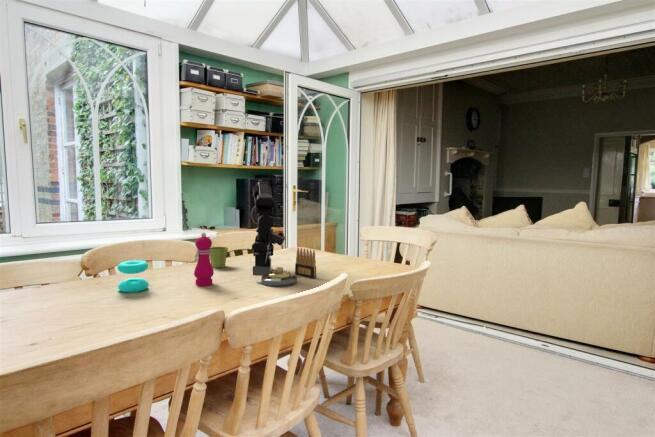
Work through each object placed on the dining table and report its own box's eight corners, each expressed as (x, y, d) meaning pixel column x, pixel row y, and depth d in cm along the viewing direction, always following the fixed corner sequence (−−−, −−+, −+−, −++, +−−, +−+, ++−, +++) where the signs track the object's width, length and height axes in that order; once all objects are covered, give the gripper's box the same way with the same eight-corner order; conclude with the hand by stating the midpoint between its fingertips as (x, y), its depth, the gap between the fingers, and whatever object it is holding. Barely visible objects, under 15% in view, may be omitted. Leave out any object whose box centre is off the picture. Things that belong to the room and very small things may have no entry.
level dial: (250, 278, 159) (250, 268, 158) (256, 273, 168) (256, 264, 167) (288, 279, 158) (288, 270, 157) (292, 274, 167) (292, 265, 166)
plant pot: (203, 267, 186) (203, 249, 185) (214, 263, 194) (214, 245, 194) (221, 269, 183) (221, 250, 182) (232, 265, 192) (232, 247, 191)
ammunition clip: (316, 278, 171) (317, 250, 170) (313, 279, 169) (314, 250, 168) (297, 274, 177) (298, 246, 176) (294, 274, 176) (295, 247, 175)
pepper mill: (208, 287, 153) (207, 234, 151) (190, 285, 155) (189, 233, 153) (217, 282, 160) (216, 232, 158) (200, 281, 162) (199, 231, 160)
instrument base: (257, 286, 156) (257, 278, 156) (265, 277, 170) (265, 270, 170) (293, 287, 155) (294, 279, 155) (298, 278, 169) (299, 271, 169)
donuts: (139, 258, 154) (153, 262, 148) (139, 284, 155) (154, 289, 149) (112, 262, 146) (126, 266, 140) (112, 289, 147) (126, 295, 141)
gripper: (279, 230, 160) (279, 269, 161) (287, 224, 178) (287, 260, 180) (251, 229, 161) (251, 268, 162) (262, 224, 179) (262, 259, 181)
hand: (264, 263), depth 171 cm, fingers closed
